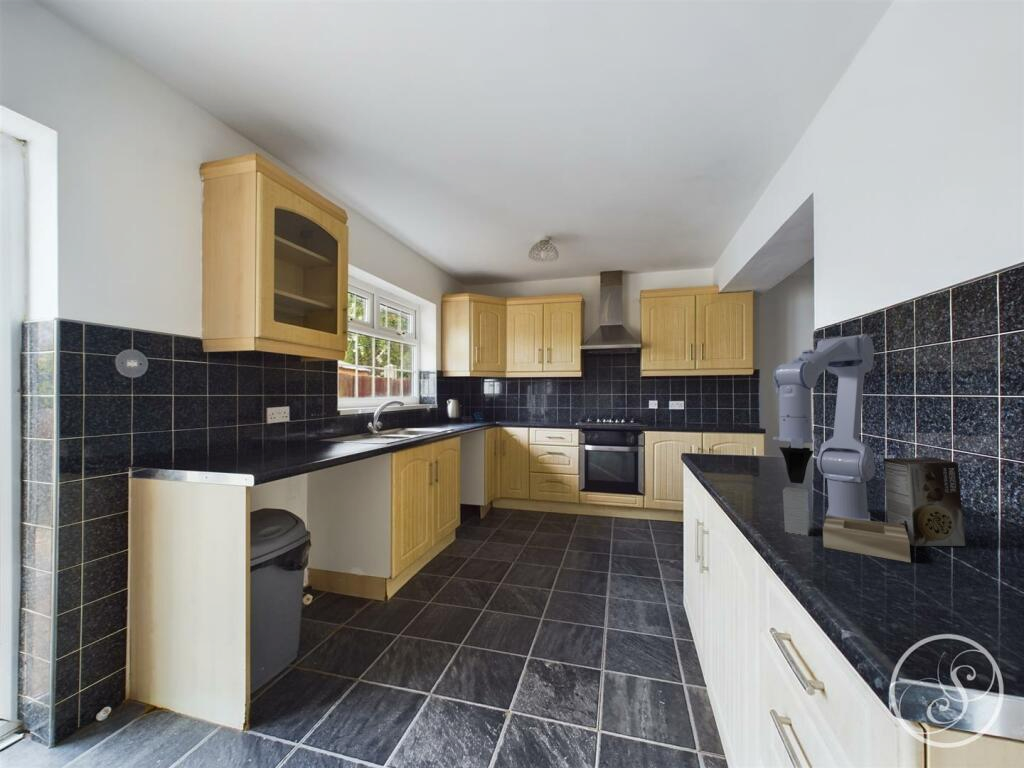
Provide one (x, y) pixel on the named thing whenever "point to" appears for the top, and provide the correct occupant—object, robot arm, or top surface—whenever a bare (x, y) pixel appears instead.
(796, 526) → the grey brushed square bar
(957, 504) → the coffee box
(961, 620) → the top surface
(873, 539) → the block
